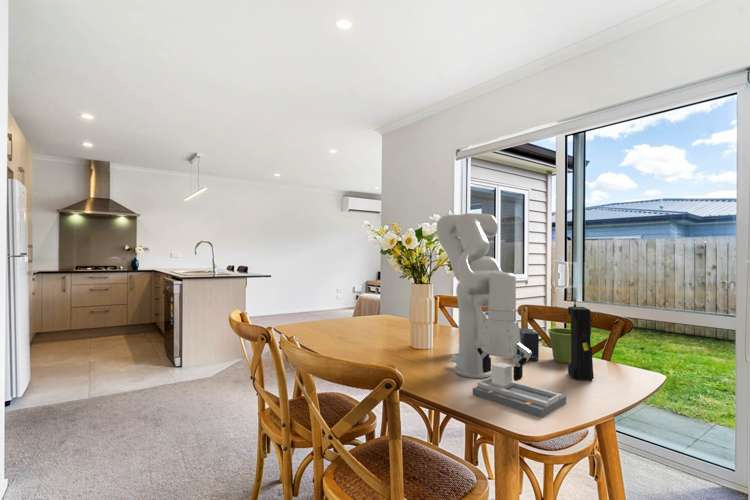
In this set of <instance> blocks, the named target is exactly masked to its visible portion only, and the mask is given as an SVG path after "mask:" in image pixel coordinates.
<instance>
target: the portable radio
mask: <svg viewBox="0 0 750 500" xmlns="http://www.w3.org/2000/svg"><path fill="white" fill-rule="evenodd" d="M573 300H574V304H573V306H568V307H567V315H568V316H570V329H571V363H567V374H568V375H569V377H571V378H572V379H573V380H577V381H587V380H589V381H590V382H591V381H593V380H594V378H595V377H594V376H595V375H594V366H593V365H594V364H593V363H594V362H593V347H592V346H591V335H592V310H590V308H587V307H585V306H577V304H576V300H577V299H576V298H574V299H573Z"/></svg>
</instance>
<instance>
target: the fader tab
mask: <svg viewBox="0 0 750 500" xmlns="http://www.w3.org/2000/svg"><path fill="white" fill-rule="evenodd" d="M491 369H492V376H491V377H492V383H490V385H492V386H495V387H499V388H502V389H507V388H510V387H512V386H513V382H512V381H513V365H512V364H509V363H503V362H496V363H494V364H491Z"/></svg>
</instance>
